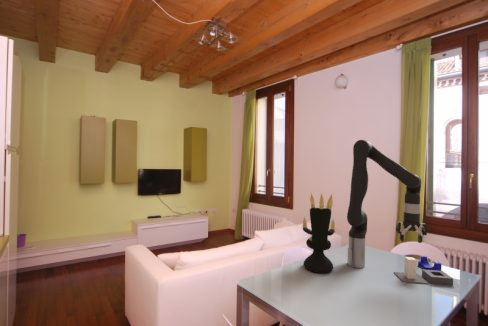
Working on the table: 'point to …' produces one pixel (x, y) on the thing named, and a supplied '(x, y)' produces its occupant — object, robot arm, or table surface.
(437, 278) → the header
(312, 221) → the candelabra
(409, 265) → the plug
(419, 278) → the mat
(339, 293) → the table surface
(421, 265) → the cable clip
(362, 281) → the table surface
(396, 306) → the table surface
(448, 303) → the table surface
